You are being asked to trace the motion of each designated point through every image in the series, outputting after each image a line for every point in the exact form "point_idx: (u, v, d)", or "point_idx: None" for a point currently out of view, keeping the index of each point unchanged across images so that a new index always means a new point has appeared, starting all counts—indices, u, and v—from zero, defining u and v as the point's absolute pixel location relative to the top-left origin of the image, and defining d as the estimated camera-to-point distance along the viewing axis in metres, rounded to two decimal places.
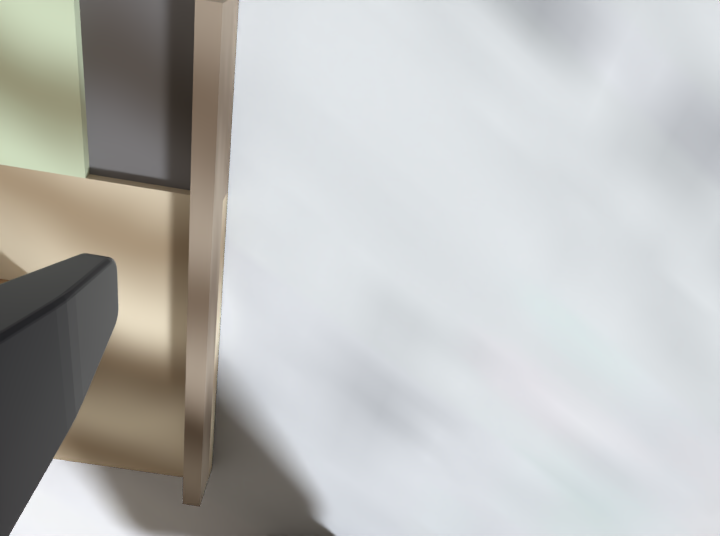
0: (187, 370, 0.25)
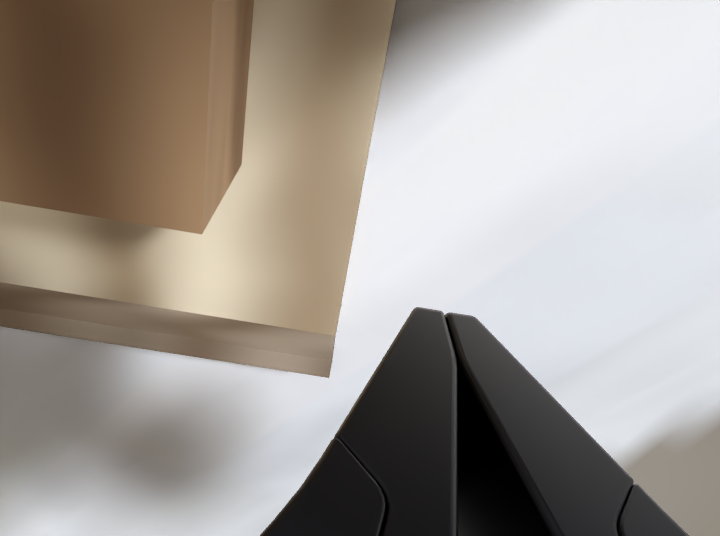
0: None
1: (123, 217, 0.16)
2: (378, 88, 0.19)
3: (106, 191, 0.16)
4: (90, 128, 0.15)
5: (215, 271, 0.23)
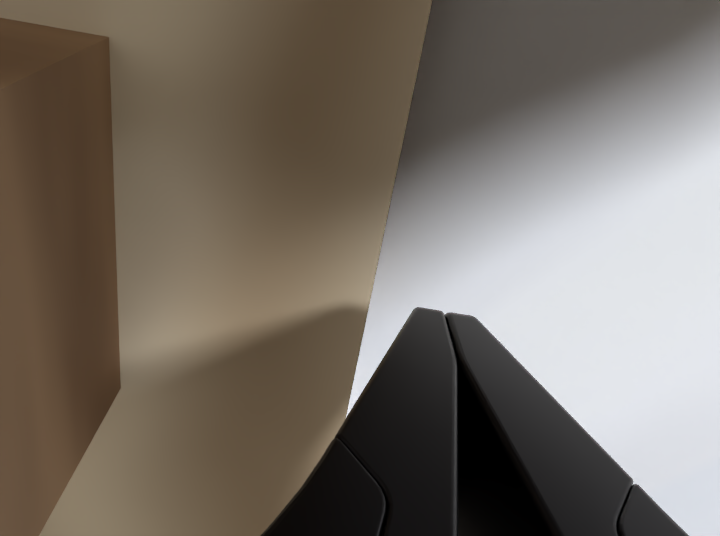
0: None
1: None
2: (373, 270, 0.10)
3: None
4: None
5: None
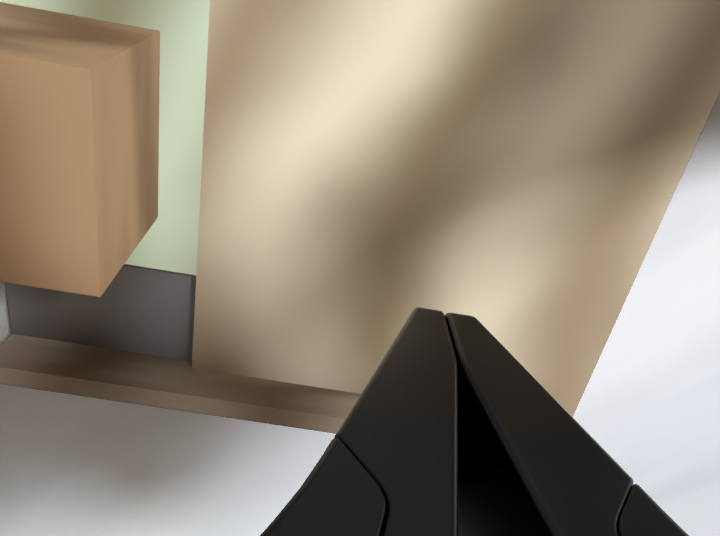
0: None
1: (23, 281, 0.17)
2: (663, 213, 0.21)
3: (4, 257, 0.16)
4: None
5: None
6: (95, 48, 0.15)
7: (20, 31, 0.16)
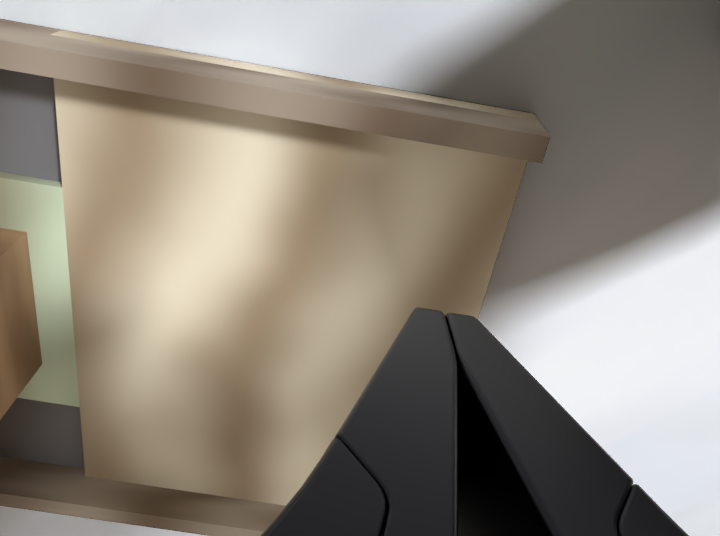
0: (271, 113, 0.18)
1: None
2: None
3: None
4: None
5: None
6: None
7: None
